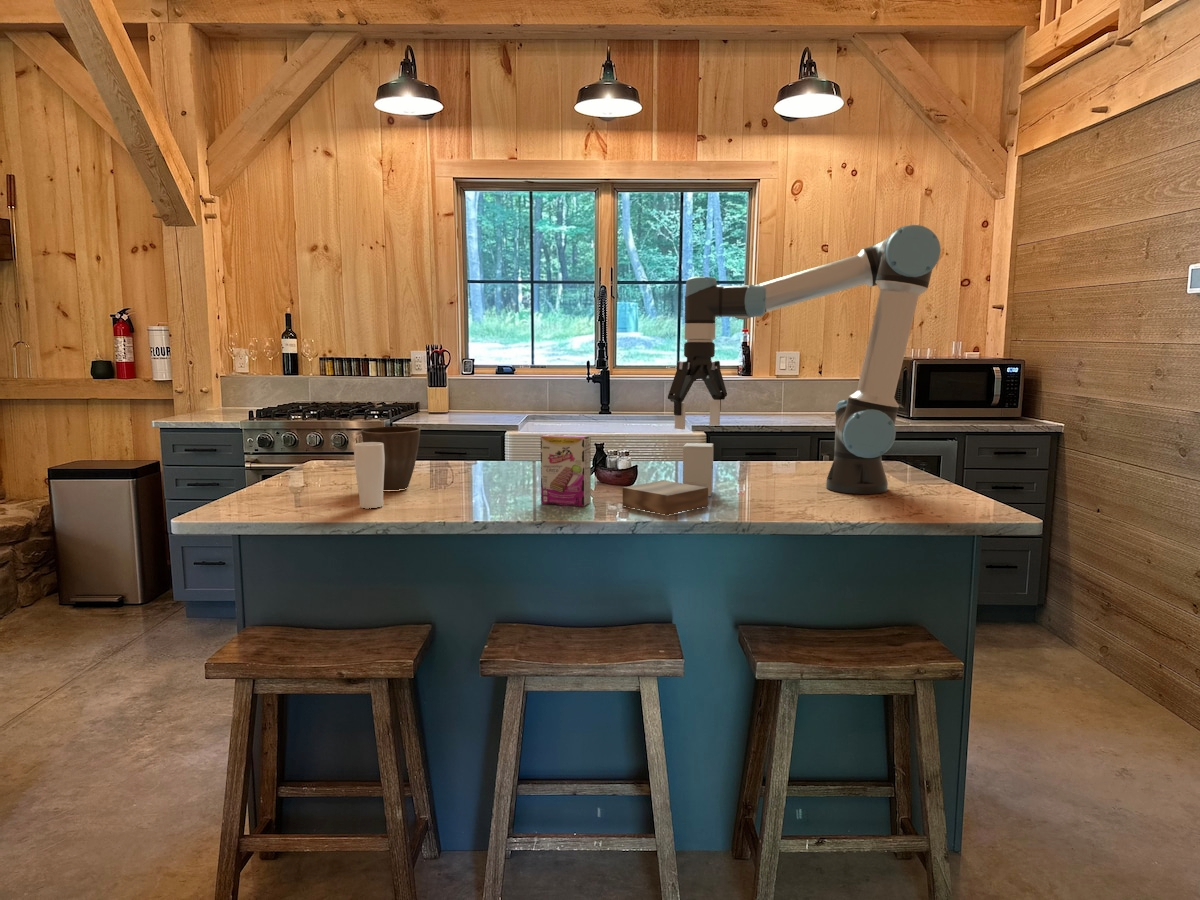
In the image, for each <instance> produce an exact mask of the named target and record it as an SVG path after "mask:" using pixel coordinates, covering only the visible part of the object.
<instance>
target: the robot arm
mask: <svg viewBox="0 0 1200 900" xmlns="http://www.w3.org/2000/svg"><path fill="white" fill-rule="evenodd" d="M941 252H942V251H941V243H940V241H939V238H938V236H937V235H936V234H935V233H934V231H933V230H932V229H931V228H928V227H926V226H924V225H919V224H910V225H904V226H901V227H898V228H897V229H896V230H894V231H893V232H892V233H891V234H890V235H889V236H888V237H886V238H885V239H884V240H881V241H880V242H877V243H876V244H874V245H872V246H869V247H865V248H862V249H861V250H860V251H859V253H858V254H856V255H852V256H848V257H846V258H843V259H840V260H836V261H833V262H829V263H825V264H822V265H819V266H815V267H812V268H809V269H805V270H802V271H798V272H795V273H791V274H788V275H784V276H782V277H778V278H774V279H771V280H768V281H765V282H764V281H763V282H760V283H758V284H749V285H748V284H747V285H718V283H717V279H716V277H712V276H693V277H689V278H688V279H687V280H686V282H685V293H684V295H685V296H684V340H685V341H686V342H684V344H683V356H684V357H685V358H686V360H684V361H683V360H679V361H677V364H676V371H675V374H674V376H673V380H672V383H671V386H670V389H669V391H668V394H667V399H668V400H670V402H672V403H673V416H674V429H675V430H686V404H687V403H686V402H684V400H685V398H686V397H687V395H688V393H689V391H690V390H691V387H692V386H693V384H694V382H696V381H697V380H702V381H703V382H704V383H703V384H705V386H706V388H707V390H708V392H709V394H710V396H711V398H712V399H710V400H709V423H708V424H709V426H718V427H719V426H720V425H721V424H720V422H721V411H722V400H723V401H724V400H725V399H726V397H727V396H728V393H727V388H726V385H725V381H724V379H723V375H722V372H721V361H719V360H712V358H714V357H715V353H716V352H715V351H716V350H715V348H716V344H715V342H714V340H716V317H718V318H723V317H725V318H727V317H728V318H736V319H737V320H747V319H750V318H757V317H758V318H759V317H760V318H761V317H764V315H765V314H766V313H769V312H772V311H775V310H778V309H783V308H786V307H789V306H793V305H796V304H800V303H803V302H804V303H805V302H807V301H811V300H815V299H817V298H822V297H825V296H828V295H831V294H837V293H840V292H843V291H846V290H849V289H854V288H857V287H860V286H865V285H866V286H868V287H870V288H872V287H875V286H877V287H878V288H879V296H878V298H877V304H876V308H875V310H874V311H875V312H874V316H873V319H872V324H871V330H870V332H869V333H870V334H869V337H868V342H867V345H866V346H867V347H866V350H865V355H864V359H863V363H862V367H861V371H860V375H859V381H858V385H857V389H856V391H854V392H853V393H852V394H850V395H848V397H847V398H848V399H846V400H845V399H843V400H840V401H838V402H837V403H836V408H835V410H834V415H835V425H834V426H835V431H834V454H833V455H834V457H833V461H832V464H831V467H830V470H829V472H828V473H827V474H828V475H827V477H826V481H825V482H826V484H825V485H826V486H825V487H826V489H827V490H829V491H833V492H836V493H845V494H854V495H855V494H856V495H857V494H858V495H874V494H882V493H886V492H888V488H889V487H888V485H889V484H888V482H889V481H888V479H887V475H886V471H885V469H884V465H883V462H882V461H883V459H882V458H883V457H882V456H883V455H884V454H886V453H887V452H888V451H889V450H890V449H891V448H892V446H893V445H894V442H895V440H896V433H897V430H896V425H895V424H896V420H897V415H898V411H899V407H900V405H899V403H898V402H897V400H896V398H895V395H896V391H897V386H898V383H899V380H900V374H901V371H902V366H903V364H904V363H903V362H904V358H905V355H906V350H907V346H908V342H909V337H910V334H911V329H912V325H913V321H914V317H915V313H916V309H917V305H918V302H919V298H920V296H921V295H922V294H924V293H925V292H927V291H928V289H929V285H930V280H931V276H932V272H933V270H934V268H935V267H936V265H937V264H938V262H939V259H940V257H941Z"/></svg>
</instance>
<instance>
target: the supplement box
mask: <svg viewBox="0 0 1200 900" xmlns="http://www.w3.org/2000/svg"><path fill="white" fill-rule="evenodd" d="M713 478H714V443H707V442H706V443H705V442H702V443H701V442H697V443H696V442H695V443H694V442H691V443H690V442H687V443H685V444H684V445H683V446H682V483H683V484H689V485H695V486H701V487H708V496H711V497H712V493H713V489H714V488H713V486H714V485H713V483H714V479H713Z"/></svg>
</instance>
